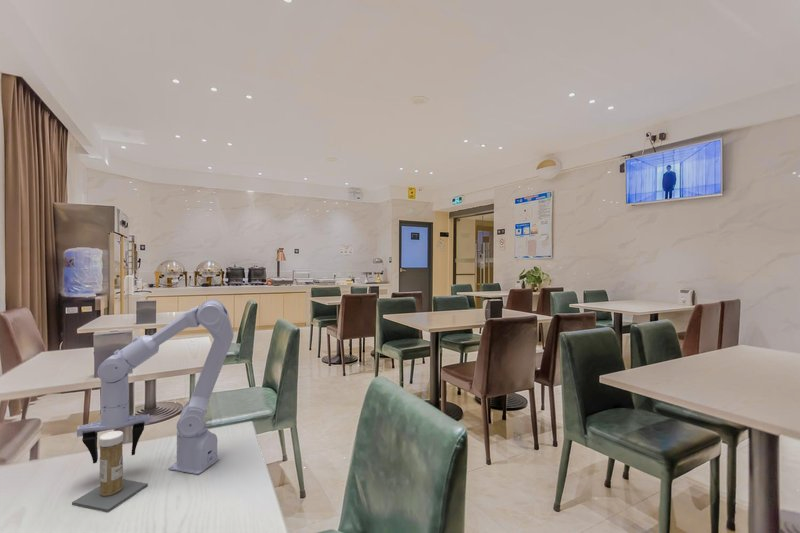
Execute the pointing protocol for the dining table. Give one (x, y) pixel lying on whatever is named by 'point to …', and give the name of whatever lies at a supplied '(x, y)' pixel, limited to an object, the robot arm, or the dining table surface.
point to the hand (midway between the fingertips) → (114, 457)
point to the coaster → (111, 501)
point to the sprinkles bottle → (111, 463)
